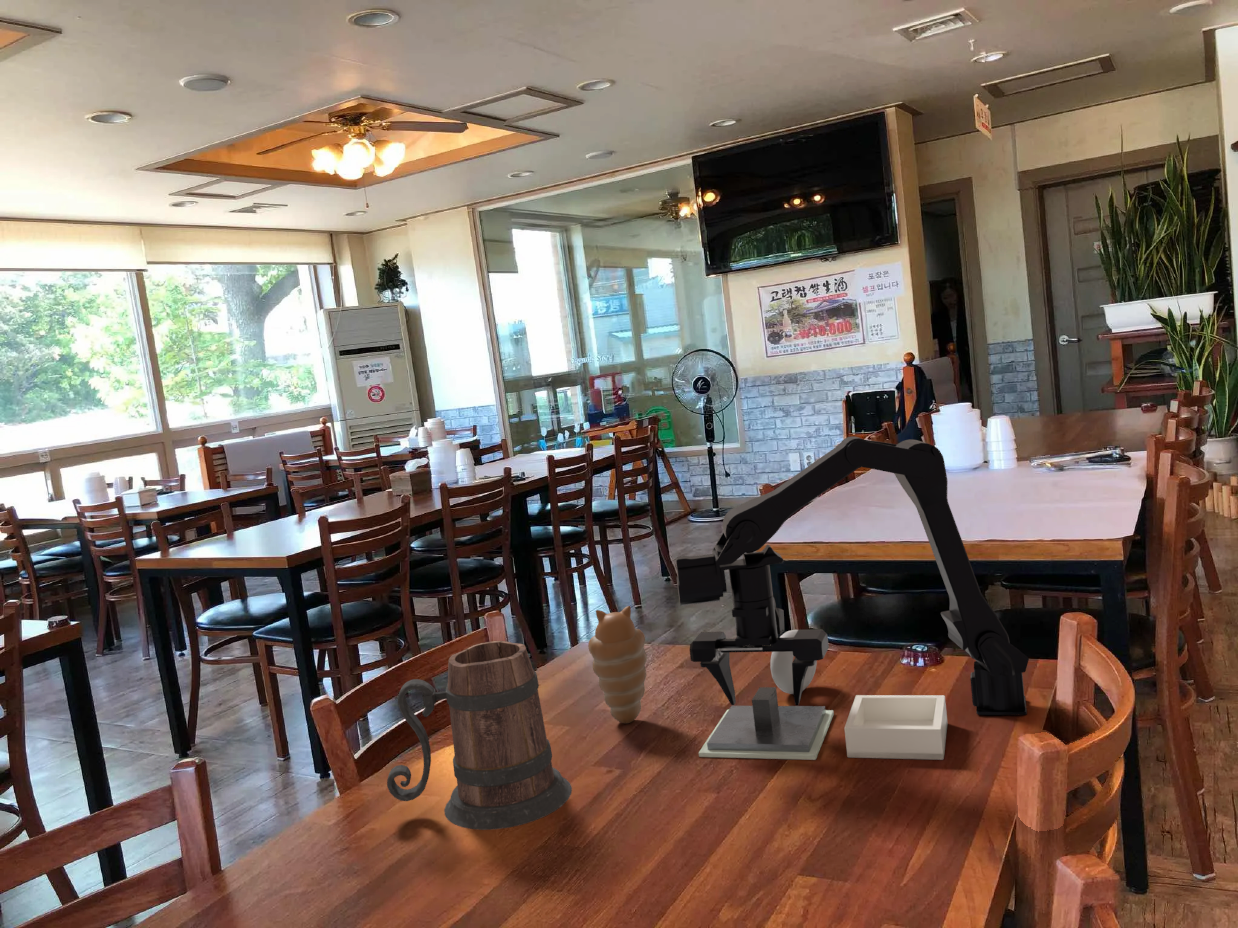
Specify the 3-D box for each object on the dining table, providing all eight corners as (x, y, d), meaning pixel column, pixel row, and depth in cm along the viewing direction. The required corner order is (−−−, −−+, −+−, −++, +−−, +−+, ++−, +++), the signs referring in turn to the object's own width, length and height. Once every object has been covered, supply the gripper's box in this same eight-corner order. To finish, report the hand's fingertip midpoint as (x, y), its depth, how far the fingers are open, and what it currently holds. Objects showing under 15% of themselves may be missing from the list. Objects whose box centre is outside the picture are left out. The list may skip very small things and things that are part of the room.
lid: (825, 712, 144) (821, 676, 144) (809, 752, 131) (804, 712, 131) (732, 711, 149) (728, 676, 149) (707, 749, 136) (703, 711, 136)
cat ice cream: (653, 709, 156) (639, 598, 154) (657, 727, 148) (642, 611, 147) (598, 716, 156) (583, 606, 154) (598, 735, 148) (583, 618, 147)
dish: (947, 723, 136) (944, 695, 136) (943, 759, 125) (940, 729, 125) (858, 722, 141) (856, 695, 140) (847, 757, 129) (844, 727, 129)
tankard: (568, 763, 140) (549, 625, 138) (576, 815, 123) (554, 660, 121) (400, 791, 137) (378, 651, 135) (385, 848, 121) (360, 690, 118)
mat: (833, 714, 145) (833, 710, 145) (815, 759, 130) (815, 755, 130) (727, 713, 151) (727, 709, 151) (699, 756, 136) (698, 752, 136)
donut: (787, 704, 151) (780, 641, 150) (769, 701, 153) (762, 638, 152) (824, 683, 158) (817, 623, 157) (806, 680, 160) (799, 621, 159)
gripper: (828, 579, 142) (840, 684, 144) (704, 584, 149) (716, 684, 151) (815, 600, 132) (828, 712, 134) (682, 605, 139) (696, 711, 140)
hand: (765, 704), depth 140 cm, fingers open, 9 cm apart
